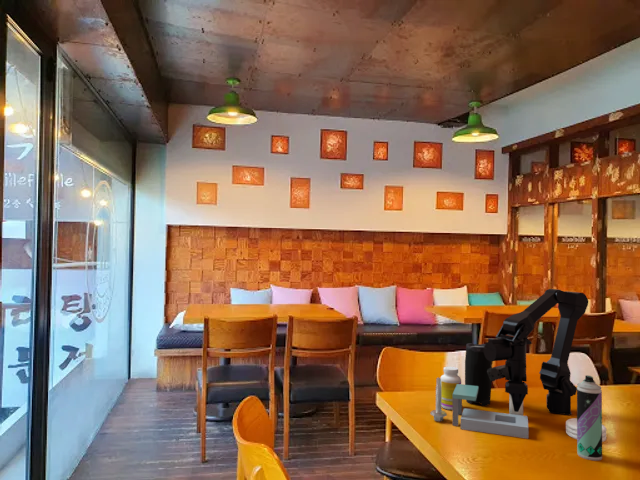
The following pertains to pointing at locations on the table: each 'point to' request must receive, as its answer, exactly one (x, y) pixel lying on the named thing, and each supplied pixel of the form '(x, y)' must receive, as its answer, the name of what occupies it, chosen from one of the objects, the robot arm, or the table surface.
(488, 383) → the portable speaker
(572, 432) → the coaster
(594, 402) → the spray can
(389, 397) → the table surface
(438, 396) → the screw
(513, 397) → the robot arm
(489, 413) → the socket board
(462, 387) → the l-shaped bracket
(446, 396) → the supplement bottle
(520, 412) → the peg
